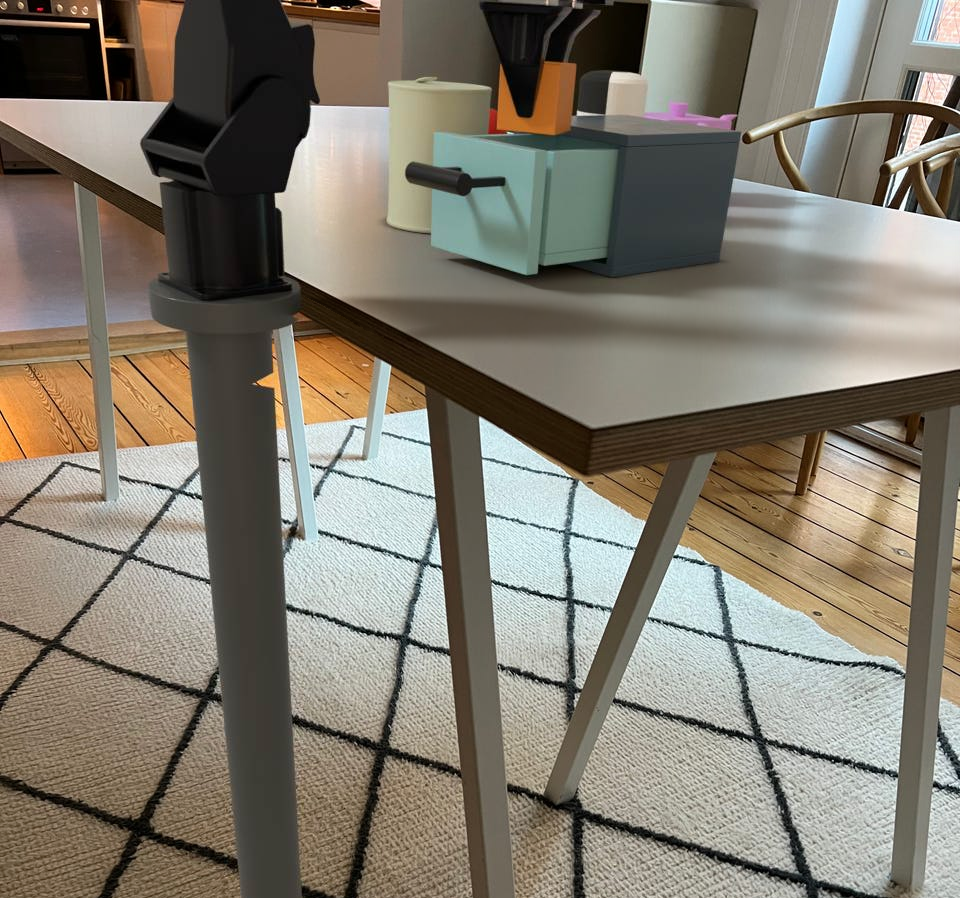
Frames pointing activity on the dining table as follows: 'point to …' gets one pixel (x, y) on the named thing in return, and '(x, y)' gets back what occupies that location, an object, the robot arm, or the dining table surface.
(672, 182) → the small storage cabinet
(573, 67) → the orange rectangular prism
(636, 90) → the container
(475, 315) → the dining table surface
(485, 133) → the can
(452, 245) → the drawer
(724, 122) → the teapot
